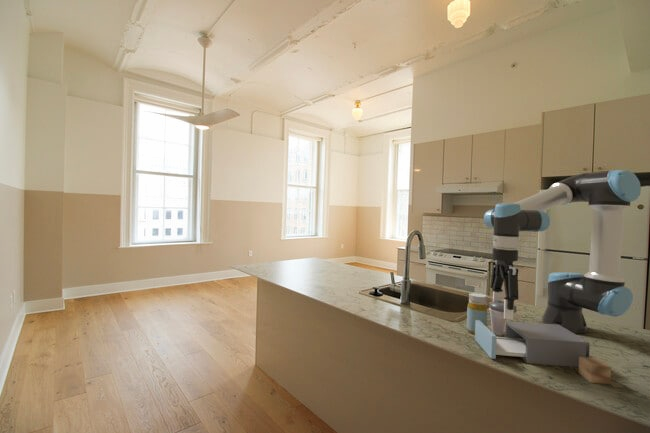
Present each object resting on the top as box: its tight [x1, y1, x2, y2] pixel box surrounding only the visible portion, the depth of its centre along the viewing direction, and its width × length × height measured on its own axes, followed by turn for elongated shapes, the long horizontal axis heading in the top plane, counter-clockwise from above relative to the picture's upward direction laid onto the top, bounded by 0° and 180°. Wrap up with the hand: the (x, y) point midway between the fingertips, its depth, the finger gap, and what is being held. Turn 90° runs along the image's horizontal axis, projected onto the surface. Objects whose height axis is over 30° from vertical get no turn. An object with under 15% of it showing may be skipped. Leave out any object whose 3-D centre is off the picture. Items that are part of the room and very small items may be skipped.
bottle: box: [466, 292, 488, 335], centre depth 121 cm, size 7×7×15 cm
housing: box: [504, 320, 591, 368], centre depth 103 cm, size 18×15×8 cm
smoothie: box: [488, 307, 507, 336], centre depth 120 cm, size 6×6×14 cm
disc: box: [488, 300, 517, 314], centre depth 105 cm, size 8×8×2 cm
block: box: [577, 357, 612, 385], centre depth 89 cm, size 5×5×5 cm
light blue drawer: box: [474, 320, 526, 360], centre depth 105 cm, size 18×14×7 cm
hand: (502, 314), depth 105 cm, fingers closed on disc, 8 cm apart
